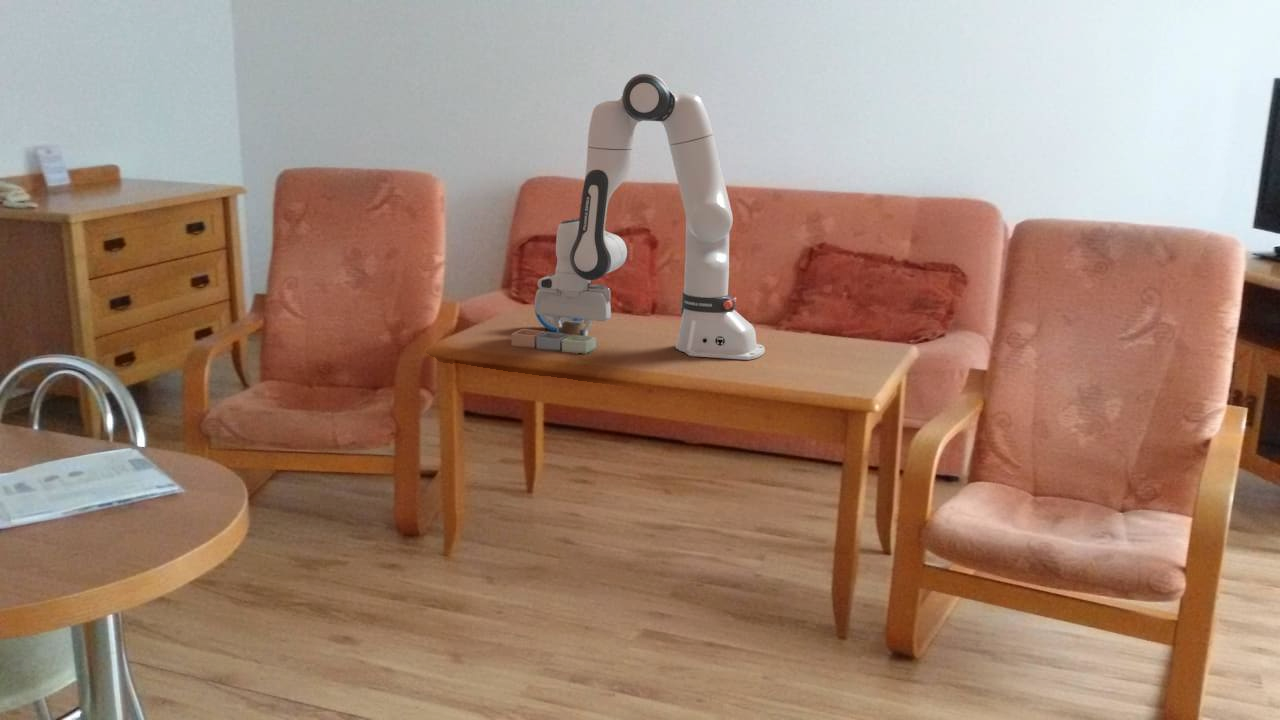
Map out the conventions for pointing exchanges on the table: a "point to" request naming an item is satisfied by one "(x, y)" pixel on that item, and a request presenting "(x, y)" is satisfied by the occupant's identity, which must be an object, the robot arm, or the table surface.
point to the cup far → (526, 338)
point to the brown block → (572, 327)
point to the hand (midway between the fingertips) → (572, 334)
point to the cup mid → (551, 341)
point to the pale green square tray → (578, 344)
